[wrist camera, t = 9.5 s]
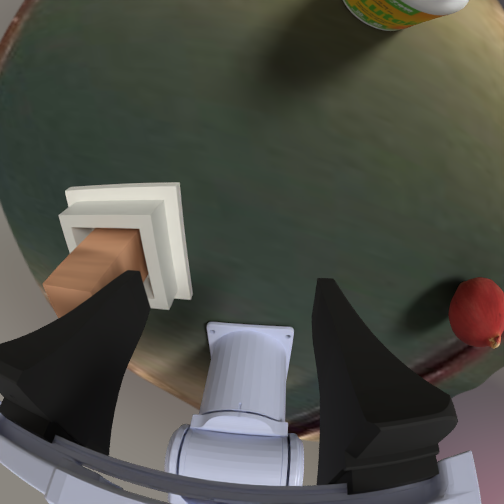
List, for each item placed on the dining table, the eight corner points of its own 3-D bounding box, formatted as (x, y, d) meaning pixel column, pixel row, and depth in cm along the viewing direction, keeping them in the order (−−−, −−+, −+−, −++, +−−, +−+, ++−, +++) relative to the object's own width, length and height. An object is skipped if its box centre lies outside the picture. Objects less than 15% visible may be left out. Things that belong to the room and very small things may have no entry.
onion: (492, 275, 22) (531, 331, 15) (455, 315, 24) (484, 375, 18) (467, 249, 20) (513, 310, 14) (426, 295, 23) (457, 362, 17)
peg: (151, 268, 23) (110, 340, 16) (110, 265, 23) (64, 330, 17) (143, 224, 21) (90, 292, 14) (100, 223, 21) (42, 283, 15)
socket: (192, 293, 25) (183, 320, 22) (97, 284, 26) (81, 306, 23) (179, 182, 20) (163, 200, 17) (70, 187, 21) (46, 203, 18)
